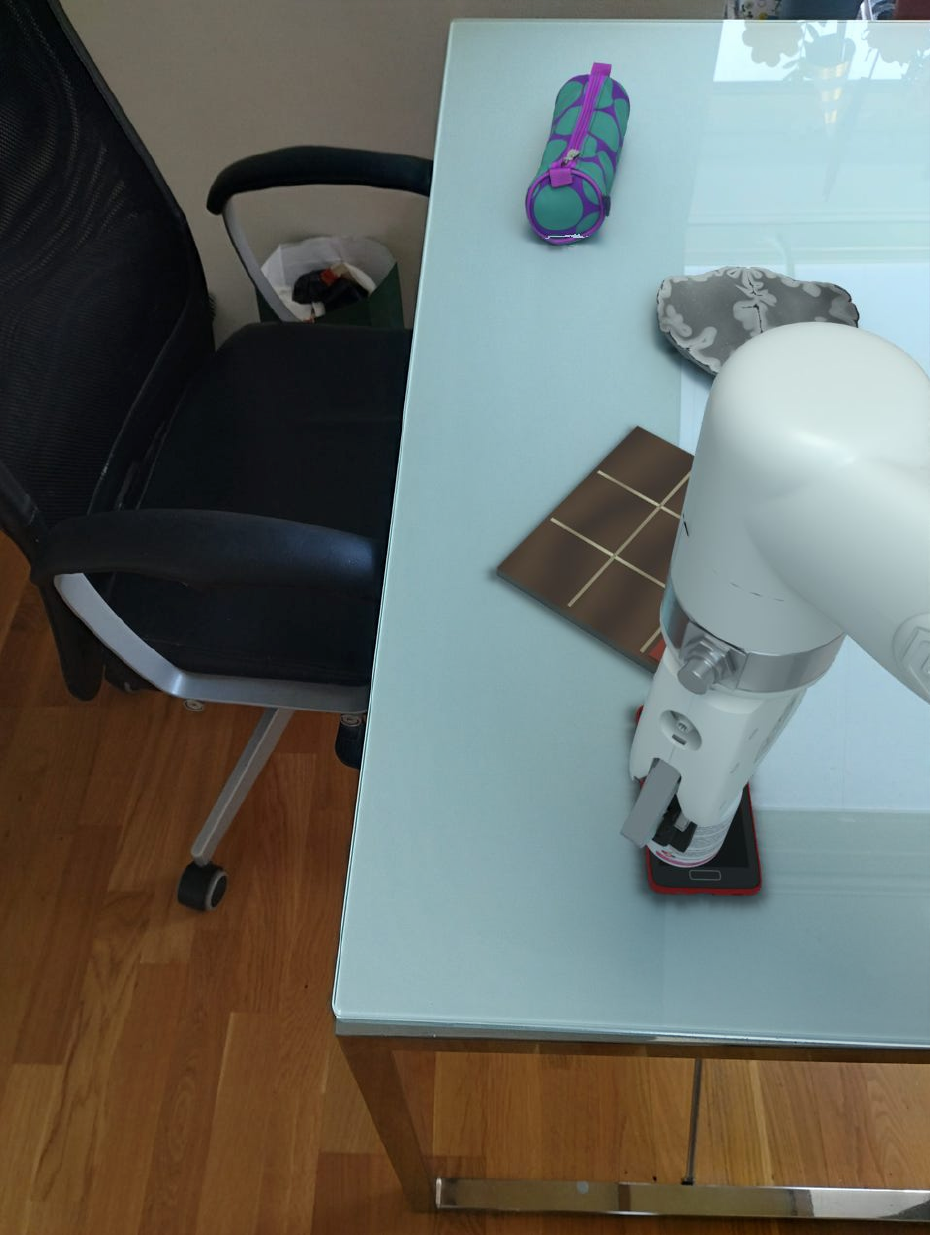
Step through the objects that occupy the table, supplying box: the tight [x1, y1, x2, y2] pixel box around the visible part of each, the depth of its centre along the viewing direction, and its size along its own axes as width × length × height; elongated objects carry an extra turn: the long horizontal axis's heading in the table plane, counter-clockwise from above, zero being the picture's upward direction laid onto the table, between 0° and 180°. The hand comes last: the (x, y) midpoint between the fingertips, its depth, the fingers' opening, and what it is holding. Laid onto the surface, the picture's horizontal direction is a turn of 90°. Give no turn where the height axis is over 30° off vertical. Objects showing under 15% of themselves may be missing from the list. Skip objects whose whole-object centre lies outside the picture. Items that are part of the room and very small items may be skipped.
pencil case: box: [524, 61, 631, 246], centre depth 115 cm, size 21×9×10 cm, turn 168°
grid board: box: [496, 425, 695, 675], centre depth 89 cm, size 21×21×1 cm
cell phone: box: [635, 704, 763, 897], centre depth 76 cm, size 8×15×1 cm, turn 179°
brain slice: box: [656, 266, 861, 377], centre depth 103 cm, size 20×17×3 cm
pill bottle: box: [647, 789, 743, 867], centre depth 58 cm, size 5×5×8 cm
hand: (688, 794), depth 58 cm, fingers closed on pill bottle, 4 cm apart
